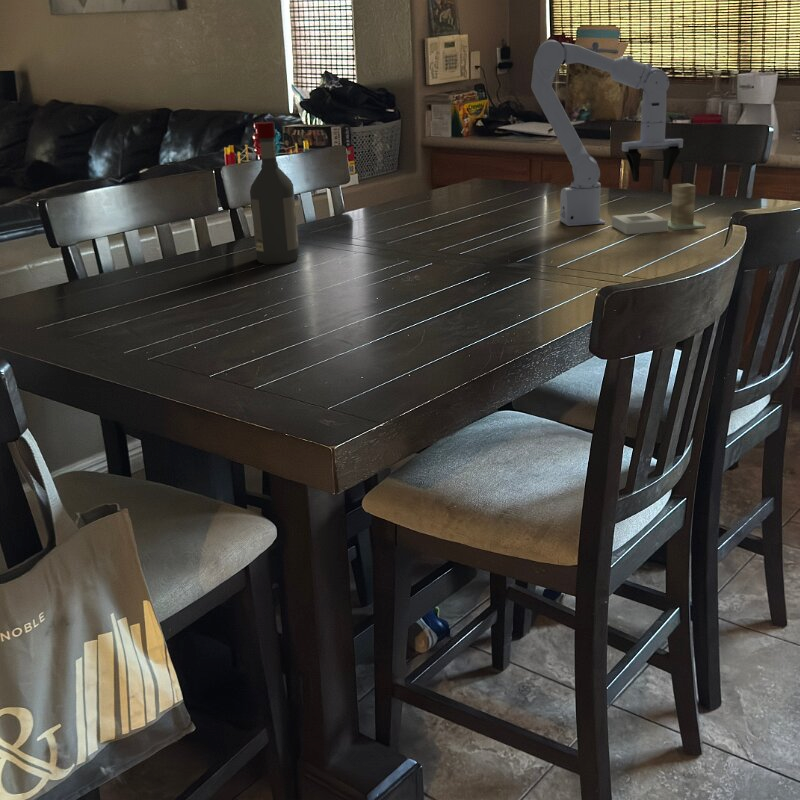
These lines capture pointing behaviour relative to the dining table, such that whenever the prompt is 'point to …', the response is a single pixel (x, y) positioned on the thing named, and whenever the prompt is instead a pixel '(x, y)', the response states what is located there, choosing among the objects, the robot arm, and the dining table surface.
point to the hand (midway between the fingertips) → (650, 179)
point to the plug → (683, 204)
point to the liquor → (273, 206)
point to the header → (639, 223)
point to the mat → (685, 226)
